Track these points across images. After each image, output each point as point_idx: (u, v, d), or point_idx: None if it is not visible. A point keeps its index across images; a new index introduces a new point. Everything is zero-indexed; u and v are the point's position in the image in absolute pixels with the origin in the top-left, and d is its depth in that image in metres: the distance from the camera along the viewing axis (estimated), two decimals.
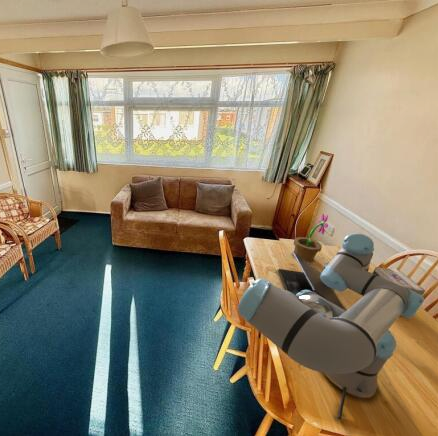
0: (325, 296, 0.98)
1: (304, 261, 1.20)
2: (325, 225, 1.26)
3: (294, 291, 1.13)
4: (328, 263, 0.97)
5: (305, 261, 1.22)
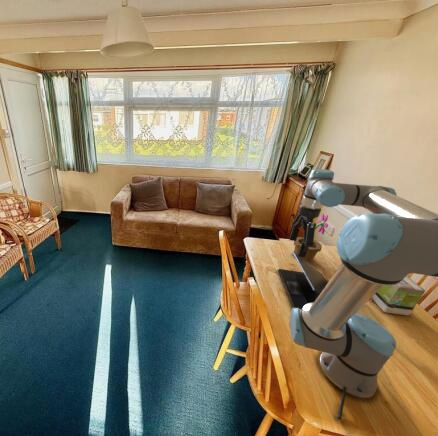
0: None
1: (304, 261, 1.20)
2: (325, 225, 1.26)
3: (294, 291, 1.13)
4: None
5: (305, 261, 1.22)
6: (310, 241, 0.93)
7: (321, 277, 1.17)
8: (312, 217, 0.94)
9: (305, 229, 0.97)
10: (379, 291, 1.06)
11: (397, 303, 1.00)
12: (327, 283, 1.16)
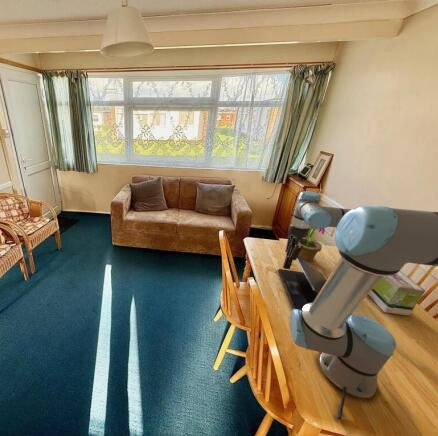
0: None
1: (304, 261, 1.20)
2: None
3: (294, 291, 1.13)
4: None
5: (305, 261, 1.22)
6: (294, 257, 1.04)
7: (321, 277, 1.17)
8: (301, 236, 1.00)
9: (292, 247, 1.04)
10: (379, 291, 1.06)
11: (397, 303, 1.00)
12: None
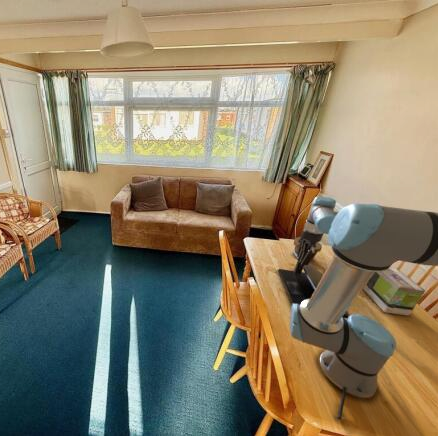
0: None
1: None
2: None
3: (294, 291, 1.13)
4: None
5: None
6: (306, 262, 1.03)
7: (321, 277, 1.17)
8: (315, 241, 0.99)
9: (305, 252, 1.04)
10: (379, 291, 1.06)
11: (397, 303, 1.00)
12: None
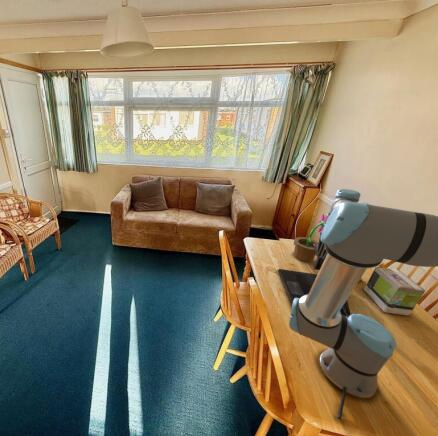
0: None
1: None
2: None
3: (294, 291, 1.13)
4: None
5: None
6: None
7: None
8: None
9: None
10: (379, 291, 1.06)
11: (397, 303, 1.00)
12: None
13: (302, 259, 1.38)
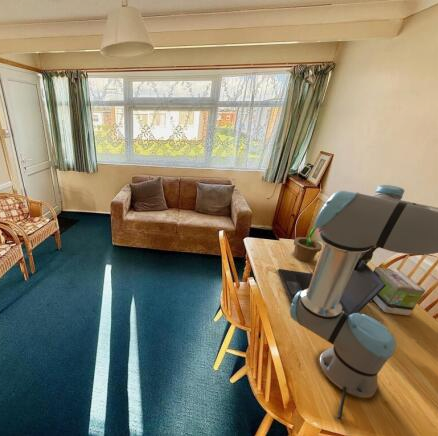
0: None
1: None
2: None
3: (294, 291, 1.13)
4: None
5: None
6: (366, 257, 0.96)
7: None
8: None
9: None
10: None
11: (397, 303, 1.00)
12: None
13: (302, 259, 1.38)
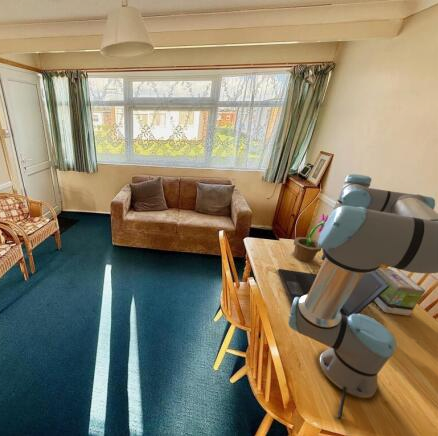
0: None
1: None
2: None
3: (294, 291, 1.13)
4: None
5: None
6: None
7: None
8: None
9: None
10: None
11: (397, 303, 1.00)
12: None
13: (302, 259, 1.38)
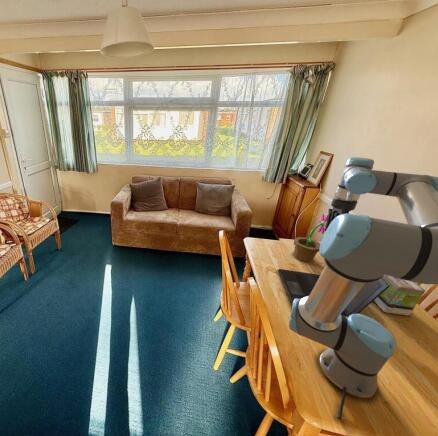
0: None
1: None
2: (325, 225, 1.26)
3: (294, 291, 1.13)
4: None
5: None
6: None
7: None
8: (348, 210, 0.87)
9: None
10: None
11: (397, 303, 1.00)
12: None
13: (302, 259, 1.38)
